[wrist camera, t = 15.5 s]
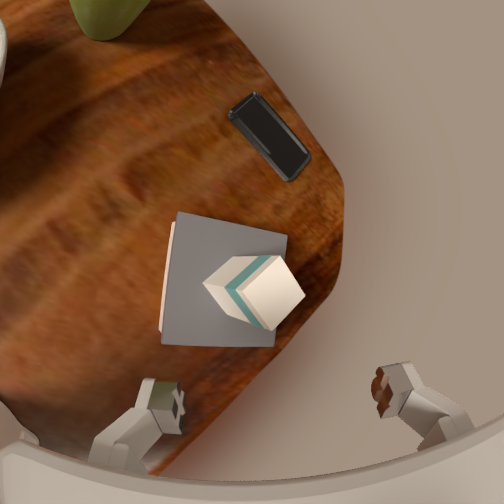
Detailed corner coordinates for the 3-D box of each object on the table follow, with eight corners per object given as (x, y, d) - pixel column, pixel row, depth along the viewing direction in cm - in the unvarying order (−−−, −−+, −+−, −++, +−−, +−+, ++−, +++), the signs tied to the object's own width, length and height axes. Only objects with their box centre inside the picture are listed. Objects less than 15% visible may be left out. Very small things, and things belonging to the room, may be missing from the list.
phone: (256, 89, 44) (313, 156, 49) (252, 92, 45) (308, 157, 50) (226, 113, 41) (290, 184, 46) (223, 116, 42) (285, 185, 47)
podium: (255, 338, 43) (273, 346, 39) (153, 333, 36) (162, 344, 32) (267, 237, 45) (287, 235, 40) (168, 217, 37) (178, 211, 33)
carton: (226, 314, 36) (271, 332, 27) (201, 282, 34) (241, 290, 26) (255, 287, 38) (305, 295, 29) (232, 255, 36) (280, 254, 28)
